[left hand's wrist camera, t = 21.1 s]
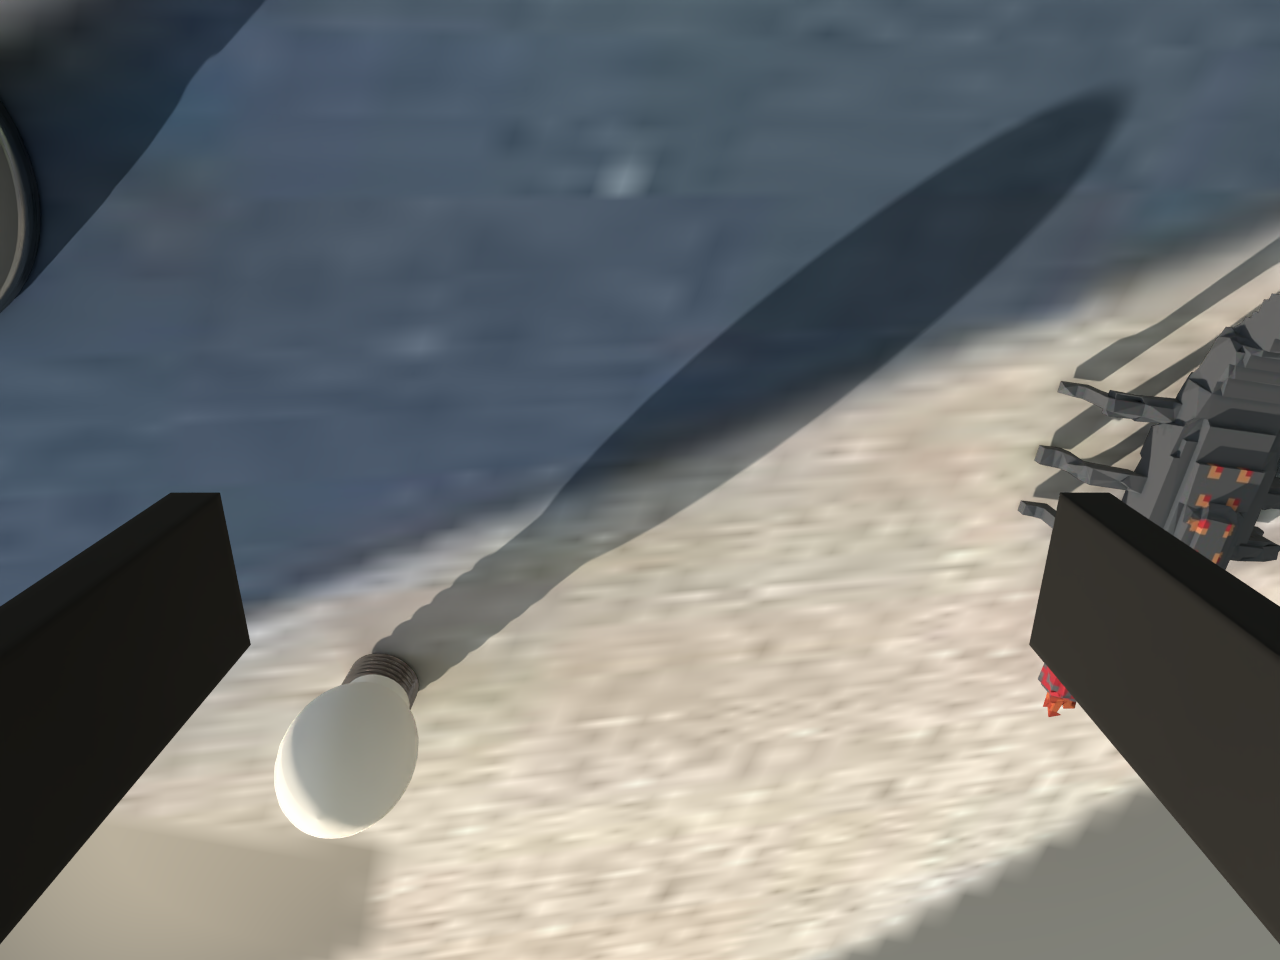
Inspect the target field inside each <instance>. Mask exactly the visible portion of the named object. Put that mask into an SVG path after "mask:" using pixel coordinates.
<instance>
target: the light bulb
mask: <svg viewBox="0 0 1280 960" xmlns="http://www.w3.org/2000/svg"><path fill="white" fill-rule="evenodd" d="M418 689H419V682H418V678H417V676H416V674H415V672H414V671H413V670H412V669H411V667H410V666H408V665H407V664H406V663H405V662H403V661H402V660H400V659H398V658H396V657H393V656H390V655H386V654H369V655H366V656H364V657H361V658H360V659H358V660H357V661H356V662H355V663H354V664H353V666H352V668H351V669H350V671H349V673H348V675H347V676H346V678H345V680H344V681H343V683H342V685H340V686H338V687H335V688H333V689H331V690H329V691H326V692H324V693H323V694H321V695H320V696H318V697H317V698H315V699H314V700H313V701H312V702H310V703H309V704H308V705H307V706H306V707H305V708H304V709H303V710H302V711H301V712H300V713H299V714H298V716H297V717H296V718H295V719H294V721H293V722H292V723H291V725H290V727H289V728H288V730H287V732H286V734H285V736H284V738H283V740H282V742H281V744H280V747H279V751H278V755H277V759H276V763H275V778H274V780H275V791H276V795H277V798H278V802H279V805H280V807H281V809H282V811H283V813H284V814H285V815H286V817H287V818H288V819H289V820H290V821H291V823H292V824H293V825H295V826H296V827H297V828H298V829H300V830H301V831H303V832H304V833H307V834H309V835H311V836H315V837H319V838H342V837H347V836H351V835H354V834H356V833H359V832H361V831H363V830H365V829H367V828H369V827H371V826H372V825H374V824H375V823H377V822H378V821H379V820H380V819H382V818H383V817H384V816H385V815H386V814H387V813H388V812H389V811H390V810H391V809H392V808H393V807H394V806H395V805H396V803H397V802H398V801H399V799H400V798H401V796H402V795H403V793H404V792H405V790H406V788H407V786H408V784H409V782H410V780H411V778H412V775H413V772H414V769H415V765H416V761H417V756H418V732H417V727H416V723H415V719H414V717H413V714H412V712H411V711H410V710H411V707H412V705H413V703H414V701H415V698H416V696H417V692H418Z"/></svg>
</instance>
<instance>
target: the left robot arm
mask: <svg viewBox="0 0 1280 960" xmlns="http://www.w3.org/2000/svg"><path fill="white" fill-rule="evenodd" d="M39 235H40V204H39V195H38V189H37V184H36V180H35V175H34V172H33V168H32V165H31V162H30V158H29V156H28V153H27V151H26V148H25V146H24V143H23V141H22V138H21V136H20V134H19V132H18V130H17V128H16V126H15V124H14V122H13V121H12V119H11V117H10V115H9V114H8V112H7V110H6V109H5V107H4V105H3V104H2V103H1V101H0V313H1V312H2V311H3V310H4V309H5V308H6V307H7V306H8V305H9V304H10V303H11V302H12V301H13V300H14V298H15V297H16V296H17V295H18V293H19V292H20V290H21V289H22V287H23V286H24V284H25V282H26V280H27V278H28V276H29V274H30V272H31V270H32V267H33V264H34V260H35V257H36V254H37V249H38V243H39ZM250 645H251V644H250V639H249V634H248V629H247V624H246V619H245V614H244V609H243V604H242V599H241V595H240V590H239V585H238V580H237V575H236V570H235V565H234V560H233V555H232V550H231V545H230V540H229V535H228V530H227V526H226V521H225V516H224V511H223V506H222V501H221V496H220V493H170V494H168V495H167V496H165V497H164V498H162V499H161V500H159V501H158V502H156V503H155V504H153V505H152V506H150V507H149V508H147V509H146V510H144V511H143V512H141V513H140V514H138V515H137V516H135V517H134V518H132V519H131V520H129V521H128V522H126V523H125V524H123V525H122V526H120V527H119V528H117V529H116V530H114V531H113V532H111V533H110V534H108V535H107V536H105V537H104V538H102V539H101V540H99V541H98V542H96V543H95V544H93V545H92V546H90V547H89V548H87V549H86V550H84V551H83V552H81V553H80V554H78V555H77V556H75V557H74V558H72V559H71V560H69V561H68V562H66V563H65V564H63V565H62V566H60V567H59V568H57V569H56V570H54V571H53V572H51V573H50V574H48V575H47V576H45V577H44V578H42V579H41V580H39V581H38V582H36V583H35V584H33V585H32V586H30V587H29V588H27V589H26V590H24V591H23V592H21V593H20V594H18V595H17V596H15V597H14V598H12V599H11V600H9V601H8V602H6V603H5V604H3V605H2V606H0V944H1V943H2V941H3V940H4V939H5V938H6V937H7V935H8V934H9V933H10V932H11V931H12V929H13V928H14V927H15V926H16V925H17V923H18V922H19V921H20V920H21V919H22V917H23V916H24V915H25V914H26V913H27V911H28V910H29V909H30V908H31V907H32V905H33V904H34V903H35V902H36V901H37V899H38V898H39V897H40V896H41V895H42V894H43V892H44V891H45V890H46V889H47V888H48V886H49V885H50V884H51V883H52V882H53V880H54V879H55V878H56V877H57V876H58V874H59V873H60V872H61V871H62V870H63V868H64V867H65V866H66V865H67V864H68V862H69V861H70V860H71V859H72V858H73V856H74V855H75V854H76V853H77V852H78V850H79V849H80V848H81V847H82V846H83V844H84V843H85V842H86V841H87V840H88V839H89V837H90V836H91V835H92V834H93V833H94V831H95V830H96V829H97V828H98V827H99V825H100V824H101V823H102V822H103V821H104V819H105V818H106V817H107V816H108V815H109V813H110V812H111V811H112V810H113V809H114V807H115V806H116V805H117V804H118V803H119V801H120V800H121V799H122V798H123V797H124V796H125V794H126V793H127V792H128V791H129V790H130V788H131V787H132V786H133V785H134V784H135V782H136V781H137V780H138V779H139V778H140V776H141V775H142V774H143V773H144V772H145V770H146V769H147V768H148V767H149V766H150V764H151V763H152V762H153V761H154V760H155V758H156V757H157V756H158V755H159V754H160V752H161V751H162V750H163V749H164V748H165V747H166V745H167V744H168V743H169V742H170V741H171V739H172V738H173V737H174V736H175V735H176V733H177V732H178V731H179V730H180V729H181V727H182V726H183V725H184V724H185V723H186V721H187V720H188V719H189V718H190V717H191V715H192V714H193V713H194V712H195V711H196V709H197V708H198V707H199V706H200V705H201V703H202V702H203V701H204V700H205V699H206V698H207V696H208V695H209V694H210V693H211V692H212V690H213V689H214V688H215V687H216V686H217V684H218V683H219V682H220V681H221V680H222V678H223V677H224V676H225V675H226V674H227V672H228V671H229V670H230V669H231V668H232V666H233V665H234V664H235V663H236V662H237V660H238V659H239V658H240V657H241V656H242V654H243V653H244V652H245V651H246V650H247V649H248V647H249V646H250ZM1029 645H1030V646H1031V647H1032V649H1033V650H1034V651H1035V652H1036V653H1037V654H1038V656H1039V657H1040V658H1041V659H1042V660H1043V662H1044V663H1045V664H1046V665H1047V666H1048V668H1049V669H1050V670H1051V671H1052V672H1053V674H1054V675H1055V676H1056V677H1057V678H1058V680H1059V681H1060V682H1061V683H1062V684H1063V686H1064V687H1065V688H1066V689H1067V690H1068V692H1069V693H1070V694H1071V695H1072V696H1073V698H1074V699H1075V700H1076V701H1077V702H1078V703H1079V705H1080V706H1081V707H1082V708H1083V709H1084V711H1085V712H1086V713H1087V714H1088V715H1089V717H1090V718H1091V719H1092V720H1093V721H1094V723H1095V724H1096V725H1097V726H1098V727H1099V729H1100V730H1101V731H1102V732H1103V733H1104V735H1105V736H1106V737H1107V738H1108V739H1109V741H1110V742H1111V743H1112V744H1113V745H1114V747H1115V748H1116V749H1117V750H1118V751H1119V752H1120V754H1121V755H1122V756H1123V757H1124V758H1125V760H1126V761H1127V762H1128V763H1129V764H1130V766H1131V767H1132V768H1133V769H1134V770H1135V772H1136V773H1137V774H1138V775H1139V776H1140V778H1141V779H1142V780H1143V781H1144V782H1145V784H1146V785H1147V786H1148V787H1149V788H1150V790H1151V791H1152V792H1153V793H1154V794H1155V796H1156V797H1157V798H1158V799H1159V800H1160V801H1161V803H1162V804H1163V805H1164V806H1165V807H1166V809H1167V810H1168V811H1169V812H1170V813H1171V815H1172V816H1173V817H1174V818H1175V819H1176V821H1177V822H1178V823H1179V824H1180V825H1181V827H1182V828H1183V829H1184V830H1185V831H1186V833H1187V834H1188V835H1189V836H1190V837H1191V839H1192V840H1193V841H1194V842H1195V843H1196V845H1197V846H1198V847H1199V848H1200V849H1201V850H1202V852H1203V853H1204V854H1205V855H1206V856H1207V858H1208V859H1209V860H1210V861H1211V862H1212V864H1213V865H1214V866H1215V867H1216V868H1217V870H1218V871H1219V872H1220V873H1221V874H1222V876H1223V877H1224V878H1225V879H1226V880H1227V882H1228V883H1229V884H1230V885H1231V886H1232V887H1233V889H1234V890H1235V891H1236V892H1237V894H1238V895H1239V896H1240V897H1241V898H1242V899H1243V901H1244V902H1245V903H1246V904H1247V905H1248V907H1249V908H1250V909H1251V910H1252V911H1253V913H1254V914H1255V915H1256V916H1257V917H1258V919H1259V920H1260V921H1261V922H1262V923H1263V925H1264V926H1265V927H1266V928H1267V929H1268V931H1269V932H1270V933H1271V934H1272V935H1273V937H1274V938H1275V939H1276V940H1277V941H1278V942H1279V944H1280V606H1278V605H1277V604H1275V603H1274V602H1272V601H1271V600H1269V599H1268V598H1266V597H1265V596H1263V595H1262V594H1260V593H1259V592H1257V591H1256V590H1254V589H1253V588H1251V587H1250V586H1248V585H1247V584H1245V583H1244V582H1242V581H1241V580H1239V579H1238V578H1236V577H1235V576H1233V575H1232V574H1230V573H1229V572H1227V571H1226V570H1224V569H1223V568H1221V567H1220V566H1218V565H1217V564H1215V563H1214V562H1212V561H1211V560H1209V559H1208V558H1206V557H1205V556H1203V555H1202V554H1200V553H1199V552H1197V551H1196V550H1194V549H1193V548H1191V547H1190V546H1188V545H1187V544H1185V543H1184V542H1182V541H1181V540H1179V539H1178V538H1176V537H1175V536H1173V535H1172V534H1170V533H1169V532H1167V531H1166V530H1164V529H1163V528H1161V527H1160V526H1158V525H1157V524H1155V523H1154V522H1152V521H1151V520H1149V519H1148V518H1146V517H1145V516H1143V515H1142V514H1140V513H1139V512H1137V511H1136V510H1134V509H1133V508H1131V507H1130V506H1128V505H1127V504H1125V503H1124V502H1122V501H1121V500H1119V499H1118V498H1116V497H1115V496H1113V495H1112V494H1110V493H1060V496H1059V501H1058V506H1057V511H1056V516H1055V521H1054V526H1053V530H1052V535H1051V540H1050V545H1049V550H1048V555H1047V560H1046V565H1045V570H1044V575H1043V580H1042V585H1041V590H1040V595H1039V599H1038V604H1037V609H1036V614H1035V619H1034V624H1033V629H1032V634H1031V639H1030V644H1029Z"/></svg>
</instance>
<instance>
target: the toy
mask: <svg viewBox="0 0 1280 960" xmlns="http://www.w3.org/2000/svg"><path fill="white" fill-rule="evenodd" d="M1058 392H1059V393H1063V394H1066V395H1070V396H1073V397H1077V398H1082V399H1084V400H1086V401H1088V402H1090V403H1093V404H1095V405H1097V406H1099V407H1101V408H1103V411H1102V413H1103V414H1105V415H1107V416H1111V417H1120V418H1128V419H1132V420H1134V421H1140V422H1152V423H1160V424H1158V425H1155V426H1152V427H1151V429H1150V432H1149V434H1148V436H1147V438H1146V441H1145V443H1144V445H1143V448H1142V450H1141V452H1140V454H1141V457H1142V458H1141V460H1140V462H1139V464H1138V465H1137V467H1136V469H1135V471H1134V472H1133V471H1131V470H1128V469H1122V468H1117V467H1111V466H1106V465H1100V464H1095V463H1090V462H1084V461H1082V460H1081V459H1079V458H1078V457H1077V456H1075V455H1074V454H1072V453H1071V452H1069V451H1067V450H1064V449H1062V448H1057V447H1050V446H1043V445H1039V448H1038V451H1037V454H1036V457H1035V460H1034V461H1036V462H1037V463H1039V464H1041V465H1046V466H1051V467H1055V468H1059V469H1062V470H1064V471H1067V472H1069V473H1070V474H1071V475H1073V476H1074V477H1076V478H1077V479H1079V480H1081V481H1083V482H1085V483H1087V484H1089V485H1094V486H1101V487H1108V488H1115V489H1122V490H1126V491H1125V494H1124V496H1123V499H1122V502H1124V503H1125V504H1127V505H1128V506H1130V507H1131V508H1133V509H1134V510H1136V511H1137V512H1139V513H1140V514H1142V515H1143V516H1145V517H1146V518H1148V519H1149V520H1151V521H1152V522H1154V523H1155V524H1157V525H1158V526H1160V527H1161V528H1163V529H1164V530H1166V531H1167V532H1169V533H1170V534H1172V535H1173V536H1175V537H1176V538H1178V539H1179V540H1181V541H1182V542H1184V543H1185V544H1187V545H1188V546H1190V547H1191V548H1193V549H1194V550H1196V551H1197V552H1199V553H1200V554H1202V555H1203V556H1205V557H1206V558H1208V559H1209V560H1211V561H1212V562H1214V563H1215V564H1217V565H1218V566H1220V567H1221V568H1223V569H1224V570H1226V567H1227V565H1228V563H1229V560H1235V561H1260V562H1265V561H1271V560H1277V556H1278V552H1279V551H1280V546H1279V545H1277V544H1275V543H1273V542H1272V541H1270V540H1268V539H1266V538H1265V537H1263V536H1262V535H1263V534H1264V532H1263V530H1261V529H1260V528H1258V527H1255V526H1254V525H1255V523H1256V521H1257V518H1258V516H1259V513H1260V511H1261V509H1263V510H1266V509H1271V508H1273V509H1280V478H1277V477H1275V475H1276V472H1277V464H1278V462H1279V459H1280V295H1279V294H1271V297H1270V299H1269V300H1265V299H1264V301H1263V303H1262V306H1261V308H1260V310H1259V312H1253V315H1252V317H1251V318H1250V317H1246V318H1245V320H1244V321H1243V322H1242V323H1241V324H1239V325H1237V326H1235V327H1234V328H1231V327H1226V328H1225V329H1224V330H1223V332H1222V333H1221V334H1220V336H1219V337H1218V338H1217V339H1216V340H1215V342H1214V344H1213V346H1212V347H1211V349H1210V351H1209V352H1208V354H1207V356H1206V357H1205V359H1204V360H1203V362H1202V363H1201V365H1200V367H1199V368H1198V369H1197V370H1196V371H1195V372H1194V373H1193V372H1191V374H1190V375H1189V377H1188V378H1187V380H1186V381H1185V383H1184V385H1183V386H1182V388H1181V390H1180V391H1179V393H1178V395H1177V397H1176V399H1175V398H1164V397H1153V396H1138V395H1133V394H1128V393H1123V392H1118V391H1112V390H1110V391H1109V393H1106V392H1104V391H1101V390H1098V389H1096V388H1094V387H1092V386H1089V385H1085V384H1078V383H1071V382H1064V381H1061V383H1060V386H1059V389H1058ZM1018 511H1019V512H1020V513H1021V514H1023V515H1028V516H1033V517H1037V518H1040V519H1042V520H1043V521H1044V522H1045V523H1047V524H1048V525H1049V526H1050V527H1052V528H1053V526H1054V521H1055V516H1056V510H1054V509H1053V508H1052V507H1050V506H1049V505H1048V504H1044V503H1036V502H1029V501H1021V502H1020V505H1019V508H1018ZM1038 680H1039V681H1040V682H1041V685H1042V686H1043V687H1044V688H1045V689H1046V690H1047V691H1048V692H1047V695H1046V698H1045V702H1044V705H1043V707H1048V717H1052V716H1058V715H1060V714H1059V713H1057V711H1058V710H1059V708H1060V707H1061V705H1063V709H1066V708H1075V705H1076V700H1075V699H1074V698H1073V696H1072V695H1071V694H1070V693H1069V692H1068V690H1067V689H1066V688H1065V687H1064V686H1063V684H1062V683H1061V682H1060V681H1059V680H1058V678H1057V677H1056V676H1055V675H1054V674H1053V672H1052V671H1051V670H1050V669H1049V668H1048V666H1047V665H1046V664H1045V663H1044V666H1043V668H1042V670H1041V673H1040V675H1039V677H1038Z"/></svg>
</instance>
